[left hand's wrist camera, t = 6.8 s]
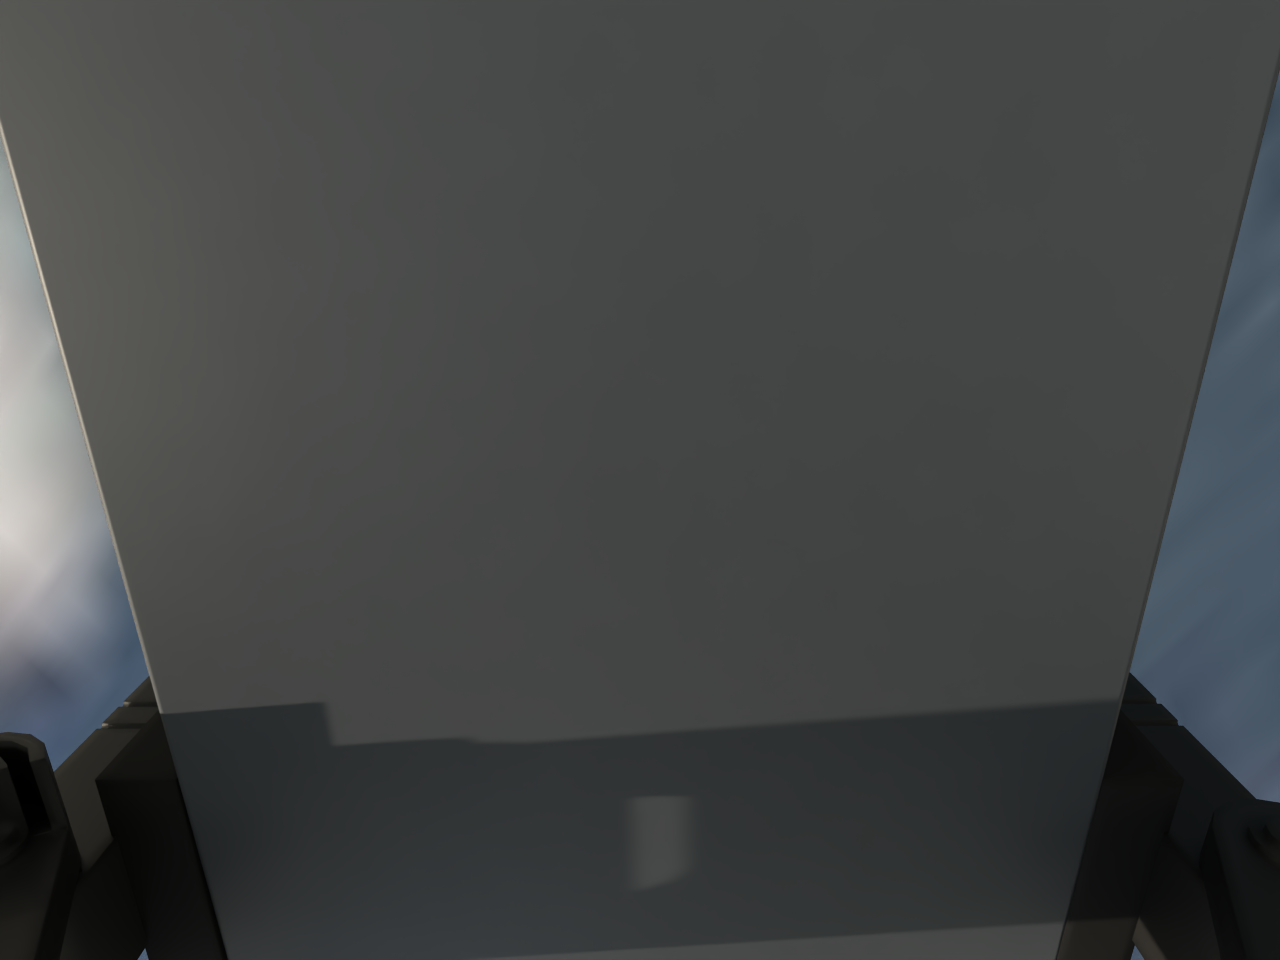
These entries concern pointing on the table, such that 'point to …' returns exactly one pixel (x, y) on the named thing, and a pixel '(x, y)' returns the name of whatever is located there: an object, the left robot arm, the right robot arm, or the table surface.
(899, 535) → the wide beam
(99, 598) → the table surface
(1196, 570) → the table surface
